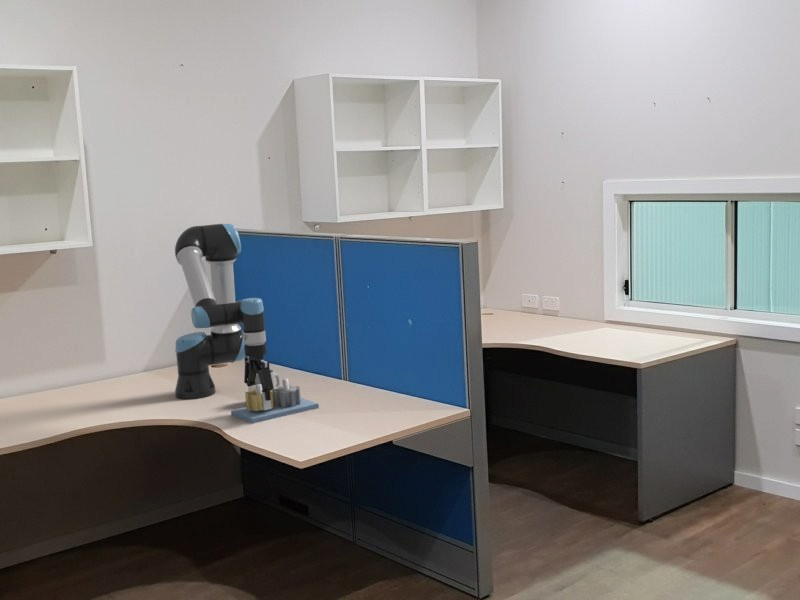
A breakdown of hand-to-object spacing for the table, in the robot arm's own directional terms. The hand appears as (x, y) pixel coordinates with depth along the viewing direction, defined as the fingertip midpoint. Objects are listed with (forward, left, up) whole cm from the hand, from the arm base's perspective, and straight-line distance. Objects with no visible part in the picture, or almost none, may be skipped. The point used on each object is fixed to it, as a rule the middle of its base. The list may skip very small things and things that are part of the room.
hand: (260, 406), depth 322 cm
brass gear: (0, 0, 0) cm, 0 cm away
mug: (-16, +11, -3) cm, 20 cm away
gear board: (0, +5, -3) cm, 6 cm away
